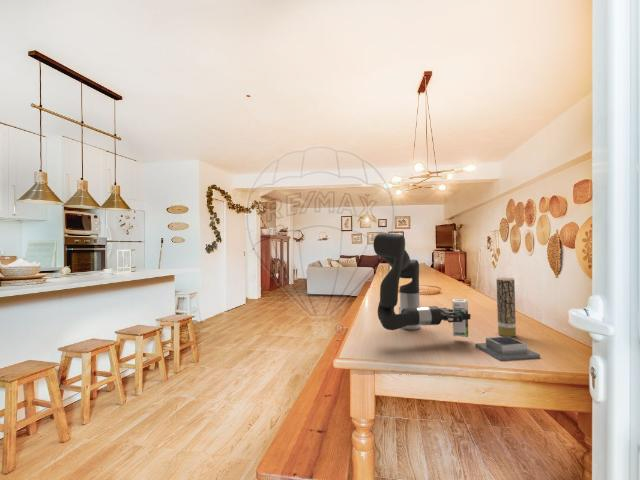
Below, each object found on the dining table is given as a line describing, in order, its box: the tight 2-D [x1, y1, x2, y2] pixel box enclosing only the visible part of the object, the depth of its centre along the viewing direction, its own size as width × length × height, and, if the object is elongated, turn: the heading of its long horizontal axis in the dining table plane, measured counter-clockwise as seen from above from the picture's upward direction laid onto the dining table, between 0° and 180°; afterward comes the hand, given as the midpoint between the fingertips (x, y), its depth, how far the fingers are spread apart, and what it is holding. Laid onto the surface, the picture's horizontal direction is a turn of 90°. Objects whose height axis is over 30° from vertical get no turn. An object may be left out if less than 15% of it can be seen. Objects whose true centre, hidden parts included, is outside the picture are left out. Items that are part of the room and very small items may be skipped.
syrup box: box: [452, 298, 469, 338], centre depth 133 cm, size 6×6×14 cm
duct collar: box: [475, 336, 541, 362], centre depth 120 cm, size 15×15×4 cm
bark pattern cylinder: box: [495, 276, 517, 338], centre depth 140 cm, size 7×7×25 cm
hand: (464, 314), depth 133 cm, fingers closed on syrup box, 7 cm apart
